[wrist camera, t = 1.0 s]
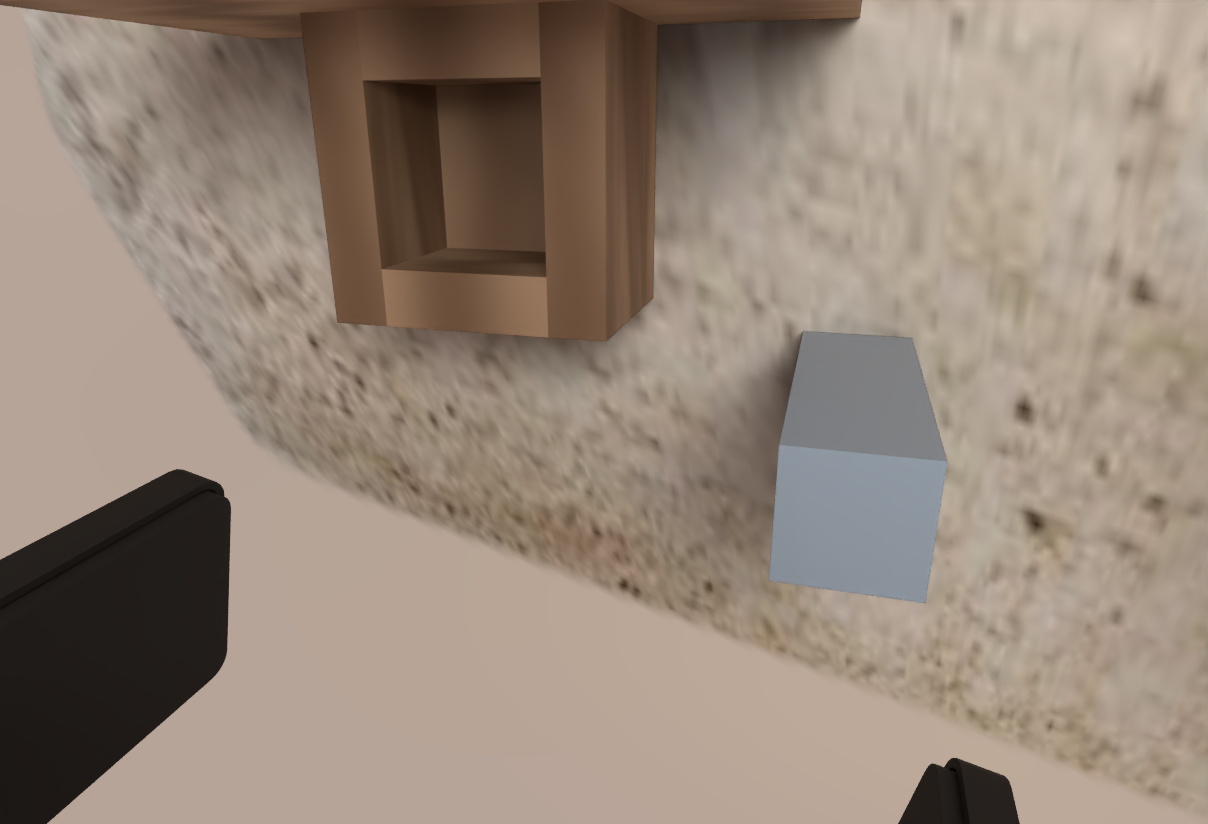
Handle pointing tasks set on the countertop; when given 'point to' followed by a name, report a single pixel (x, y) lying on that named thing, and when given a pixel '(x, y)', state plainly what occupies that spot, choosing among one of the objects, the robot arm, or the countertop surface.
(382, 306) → the small wooden stand
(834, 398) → the plain blue gray block
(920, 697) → the countertop surface
